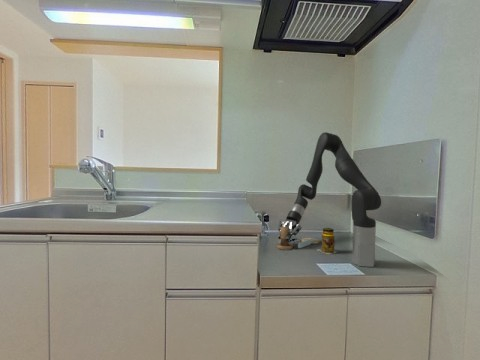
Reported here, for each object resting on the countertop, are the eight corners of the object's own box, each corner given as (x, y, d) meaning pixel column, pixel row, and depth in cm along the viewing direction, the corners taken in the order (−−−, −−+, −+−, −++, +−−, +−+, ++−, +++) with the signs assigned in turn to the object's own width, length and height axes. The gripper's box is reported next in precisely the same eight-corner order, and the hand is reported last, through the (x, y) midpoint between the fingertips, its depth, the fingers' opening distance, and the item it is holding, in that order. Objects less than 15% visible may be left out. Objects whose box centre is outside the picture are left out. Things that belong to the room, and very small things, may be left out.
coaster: (320, 244, 153) (320, 243, 153) (301, 243, 154) (301, 242, 154) (318, 239, 163) (318, 238, 162) (301, 238, 164) (301, 237, 164)
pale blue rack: (293, 238, 165) (293, 234, 164) (313, 242, 155) (313, 238, 155) (279, 243, 155) (279, 239, 155) (299, 248, 145) (299, 243, 145)
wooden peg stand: (293, 250, 142) (293, 229, 142) (276, 249, 143) (276, 229, 142) (292, 245, 151) (292, 225, 150) (275, 244, 152) (275, 225, 151)
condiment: (328, 254, 135) (328, 230, 134) (315, 250, 142) (315, 227, 142) (338, 252, 139) (338, 229, 138) (325, 248, 146) (325, 225, 145)
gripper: (282, 208, 157) (269, 233, 149) (304, 211, 146) (291, 238, 139) (288, 216, 161) (275, 240, 153) (309, 219, 150) (297, 246, 143)
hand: (282, 239), depth 146 cm, fingers closed on wooden peg stand, 4 cm apart
